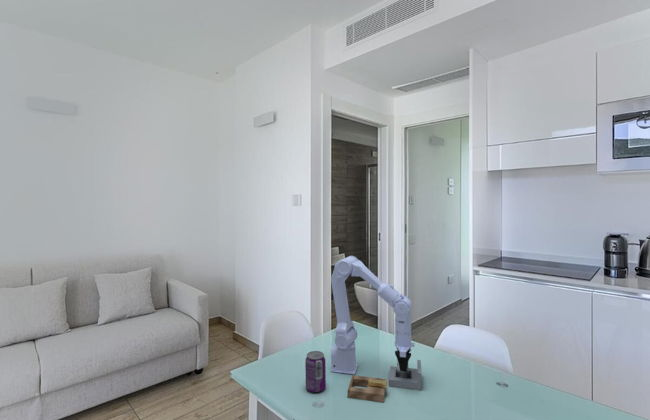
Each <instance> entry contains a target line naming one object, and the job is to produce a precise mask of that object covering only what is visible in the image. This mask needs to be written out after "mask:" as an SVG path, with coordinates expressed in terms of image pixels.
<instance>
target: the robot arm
mask: <svg viewBox="0 0 650 420" xmlns="http://www.w3.org/2000/svg"><path fill="white" fill-rule="evenodd" d="M350 276H351V277H360V278H361V279H362V280H364V281H365V282H367V284H369V285H370V286H371V287H373V289H375V290H376V291H377V295H378V297H379V298H380V299H383V301H385V303H387V304H388V305H390V307H392V310H393V312H394V315H395V316H394V339H395V340H394V346H395V348H396V350H394V354H395V358H396V360H397V359H398V363H399V368H400V371H403V372H406V371H407V366H408V367H409V361H410V359H411V356H412V352H410V351H411V349H412V347H413V348H414V347H415V346H416V345H415V342H412V319H411V318H412V315H411V313H412V312H411V310H412V307H413V302H412V300H411V299H410V297H409V296H406V295H404V294H403V293H400V292H399V291H398V290H396V289H395V288H394V285H393V284H392V283H388V282H382V281H381V280H380V279H379V278H378V277H377V276H376V275H375V274H374V273H373V272H372V270H370V269H369V268H368V267H367V266H365V264H364V263H363V262H362V261H361V260H360V259H358V258H357V257H356V256H354V255H349V256H347V257H345V258H341V259H339V260H338V261H337V262H336V263H335V264H334V269H333V272H332V273H331V277H330V281H331V288H332V290H331V291H332V295H333V303H334V308H335V314H336V322H337V323H336V328H335V336H334V344H333V345H332V346H331V352H330V372H331V373H338V374H339V373H340V374H348V375H355V374H356V372H357V369H358V367H359V364H358V363H357V361H356V359H357V358H356V343H355V341H356V340H357V338H358V332H357V329H356V328H355V324H354V322H353V321H352V319H351V314H350V313H351V312H350V307H349V300H348V292H347V287H346V280H347V279H348V278H349V277H350Z"/></svg>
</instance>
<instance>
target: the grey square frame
mask: <svg viewBox="0 0 650 420" xmlns="http://www.w3.org/2000/svg"><path fill="white" fill-rule="evenodd" d="M416 364H417V366H416V367H417V368H412V367H411V368H410V367H408V378H399V377H397V366H393V365H391V366H390V367H389V375H388V387H390V388H391V387H392V388H399V389H405V390H406V389H407V390H414V391H423V390H422V388H423V387H422V385H423V384H422V383H423V381H422V378H423V377H422V362H421V359H417V360H416Z"/></svg>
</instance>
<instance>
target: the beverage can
mask: <svg viewBox="0 0 650 420" xmlns="http://www.w3.org/2000/svg"><path fill="white" fill-rule="evenodd" d="M304 364H305V367H304V368H305V369H304V370H305V388H306V390H307V391H309V392H312V393H318V392H321V391H325V388H326V386H327V383H326V382H327V381H326V380H327V379H326V378H327V375H326V372H327V371H326V357H325V353H324V352H322V351H319V350H312V351H310V352H308V353H306V357H305V363H304Z"/></svg>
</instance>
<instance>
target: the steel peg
mask: <svg viewBox="0 0 650 420" xmlns="http://www.w3.org/2000/svg"><path fill="white" fill-rule="evenodd" d="M396 367H397V376H396V377H399V378H408V379H409V377H408V368H409V365H408V366H407V371H406V372H403V371H400V368H399V363H398V359H397V358H396Z"/></svg>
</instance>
